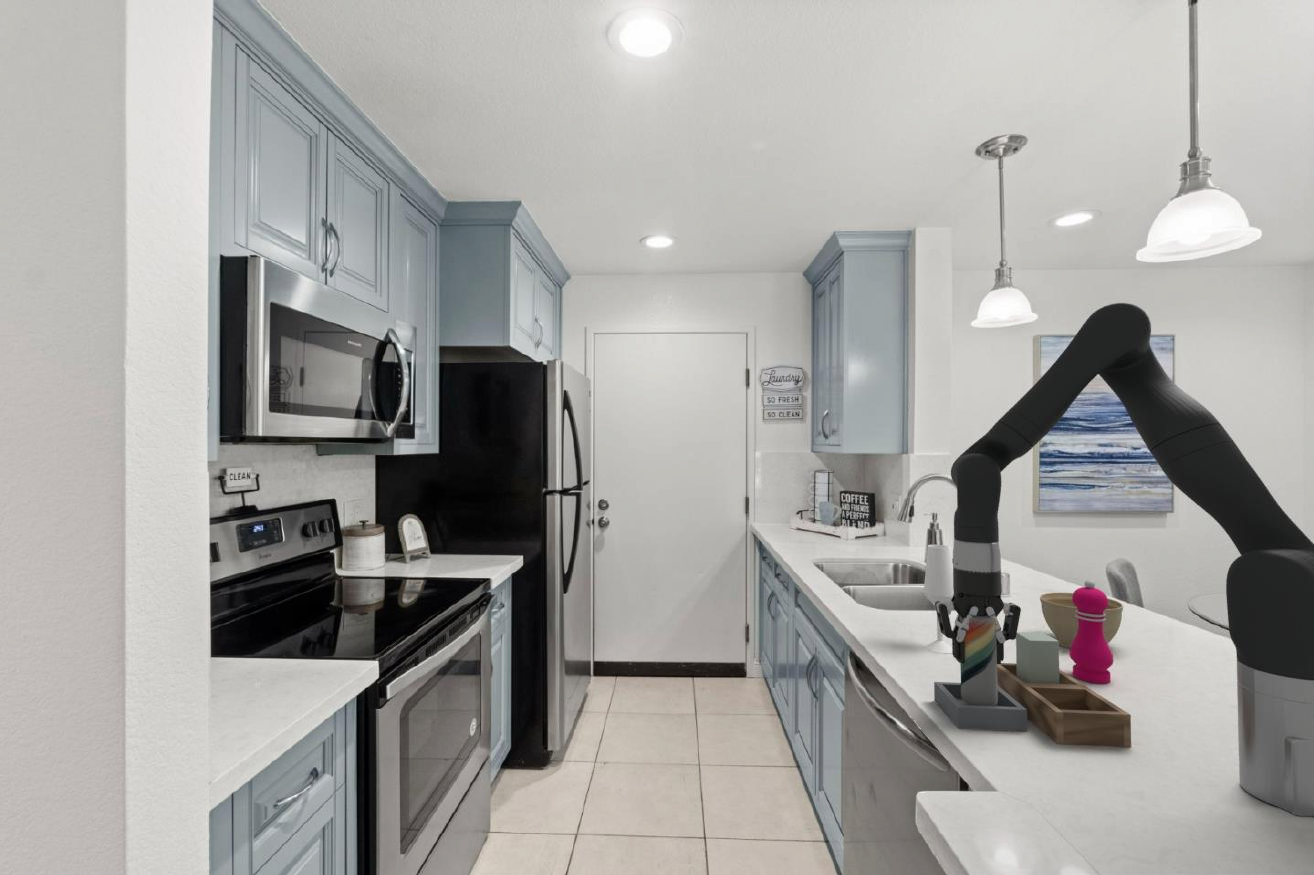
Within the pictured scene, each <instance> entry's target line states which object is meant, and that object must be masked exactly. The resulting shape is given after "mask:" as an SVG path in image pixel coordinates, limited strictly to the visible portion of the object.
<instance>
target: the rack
mask: <svg viewBox="0 0 1314 875" xmlns="http://www.w3.org/2000/svg"><path fill="white" fill-rule="evenodd" d="M997 685H998V686H999V687H1000V688H1001V689H1003V690H1004V691H1005V692H1006V693H1007V694H1009V695H1010V696H1011V697H1012V698H1013V699H1015V700H1016V701H1017V702H1018V703H1019V704H1021V705H1022V706H1023V707H1024V708H1025V709H1027V720H1029V721H1030V722H1031V723H1032V724H1033V725H1035V726H1036V727H1037V728H1039V729H1040V730H1041V731H1042V732H1043V733H1044V734H1045V735H1046V736H1048V737H1049V738H1050V739H1051V740H1052V741H1053V742H1054V743H1056V744H1057V745H1060V744H1061V745H1079V746H1081V745H1082V746H1083V745H1084V746H1099V747H1100V746H1104V747H1105V746H1106V747H1122V748H1123V747H1125V748H1127V747H1128V748H1132V721H1131V720H1132V719H1131V718H1132V716H1131V714H1130V713H1129V712H1127V711H1126V710H1124V709H1123V708H1121V707H1119V706H1118V705H1116V704H1114V703H1113V702H1111V701H1109V700H1108V699H1106V698H1105V697H1104V696H1102V695H1100V694H1099V693H1097V692H1096V691H1094V690H1092V689H1091V688H1090V687H1088V686H1086V685H1085V684H1083V683H1081V682H1080V681H1079V680H1077V679H1075V678H1074V677H1073V676H1070V675H1069V674H1067V673H1066V672H1064V671H1062V669H1060V668H1059V684H1043V683H1024V682H1023V681H1021V680H1020V679H1019V678H1017V668H1016V662H1015V663H1013V662H1012V663H1010V662H1007V663H1005V662H1001V664H997Z"/></svg>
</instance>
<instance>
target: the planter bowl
mask: <svg viewBox="0 0 1314 875" xmlns="http://www.w3.org/2000/svg"><path fill="white" fill-rule="evenodd" d="M1073 593H1074V592H1047V593H1043V594H1041V595H1039V600H1040V603H1041V612H1042V614H1043V617H1044V618H1043V619H1044V621H1045V622H1046V624H1047V626H1048V628H1049V629H1050V631H1051V632H1052V633H1053V634H1054V636H1055V637H1056V640H1057V641H1059V645H1060V646H1063V647H1065V648H1068V649H1070V647H1071V644H1072V642H1073V640H1074V638H1075V637H1076V634H1077V631H1078V624H1079V623H1078V618H1077V617H1076V616H1075V615H1076V611H1075V610H1077V607H1076V606H1075V605H1074V603H1073V601H1072V596H1073ZM1123 610H1124V604H1123V603H1122V602H1120V601H1118V600H1115V599H1111V598H1108V607H1107V609H1105V610H1104V613H1105V614H1106V615H1105V619H1106V620H1105V621H1103V634H1104V637H1105V640H1106V642H1107V644H1108V645H1109V643H1110V642H1111V641H1112V640H1113V639H1114V638H1115V636H1116V635H1117V633H1118V632H1119V629H1120V627H1121V622H1122V617H1123V616H1122V615H1123Z"/></svg>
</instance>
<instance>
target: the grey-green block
mask: <svg viewBox="0 0 1314 875" xmlns="http://www.w3.org/2000/svg"><path fill="white" fill-rule="evenodd" d="M1059 645H1060V644H1059V641H1057V639H1055V638H1053V637H1052V636H1050V635H1049V634H1047V633H1045V632H1030V631H1029V632H1024V631H1022V632H1021V631H1017V634H1016V638H1015V648H1016V649H1015V650H1016V651H1015V652H1016V653H1015V654H1016V655H1015V656H1016V657H1015V658H1016V659H1015V660H1016V662H1015V664H1016V668H1017V678H1019V679H1020V680H1021V681H1023V682H1024V683H1043V684H1059V669H1060V646H1059Z"/></svg>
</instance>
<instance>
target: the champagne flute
mask: <svg viewBox="0 0 1314 875" xmlns="http://www.w3.org/2000/svg"><path fill="white" fill-rule="evenodd" d="M924 574H925V575H924V586H923V587H924V588H923V593H924V595H925V597H926V599H927V600H928V601H929V602H930V603H931V604H932V605H934V606H935V602H937V601H940V602H948V601H951V599H952V598H953V595H954V591H953V563H952V553H951V546H949V545H943V544H928V545H927V552H926V563H925V573H924ZM936 625H937V626H936V633H937V634H936V635H937V636H936V639H937V640H933V641H932V642H930V643H928V644H925V645H924V648H925V649H926V650H928V651H929V652H930V651H931V652H934V653H939V654H952V645H950V644H948V643H947V642H946V641H945V640H943V639H944V637H943V636H944V634H942V633H941V631H940V626H939V621H938V617H937V616H936Z"/></svg>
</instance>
